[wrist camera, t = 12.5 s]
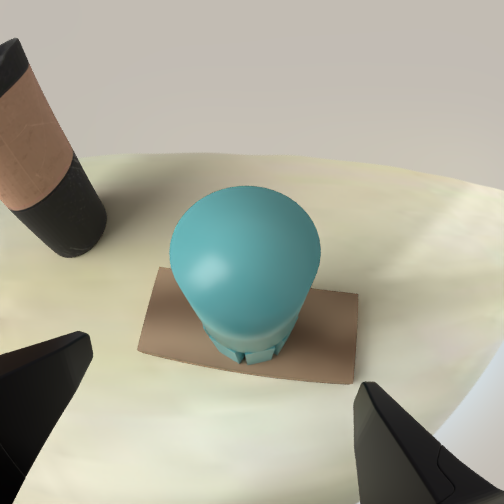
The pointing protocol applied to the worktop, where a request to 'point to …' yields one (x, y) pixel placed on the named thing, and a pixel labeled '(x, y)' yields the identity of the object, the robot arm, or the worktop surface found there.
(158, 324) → the brown block with knob
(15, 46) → the travel mug
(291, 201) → the teal cap
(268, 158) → the worktop surface
